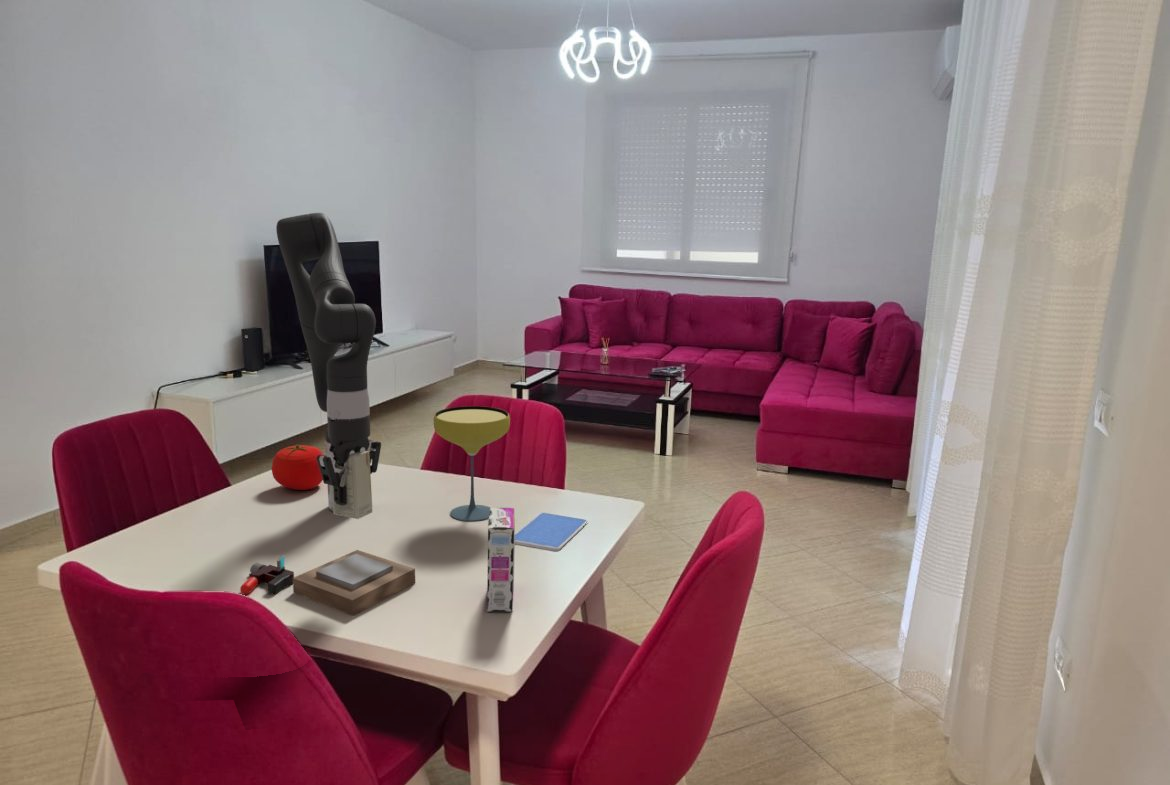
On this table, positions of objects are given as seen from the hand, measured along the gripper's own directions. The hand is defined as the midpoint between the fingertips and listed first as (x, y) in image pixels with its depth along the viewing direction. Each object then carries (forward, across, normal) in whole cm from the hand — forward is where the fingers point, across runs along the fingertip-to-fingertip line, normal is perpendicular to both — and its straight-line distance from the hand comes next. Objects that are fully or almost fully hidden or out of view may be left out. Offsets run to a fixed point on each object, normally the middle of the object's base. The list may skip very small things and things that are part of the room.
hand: (351, 500), depth 147 cm
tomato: (+18, -33, -56) cm, 67 cm away
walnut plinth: (+18, 0, 0) cm, 18 cm away
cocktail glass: (+18, -44, -7) cm, 48 cm away
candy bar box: (+18, -12, +26) cm, 34 cm away
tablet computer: (+19, -45, +15) cm, 51 cm away
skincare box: (+3, 0, 0) cm, 3 cm away
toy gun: (+18, +9, -16) cm, 26 cm away
